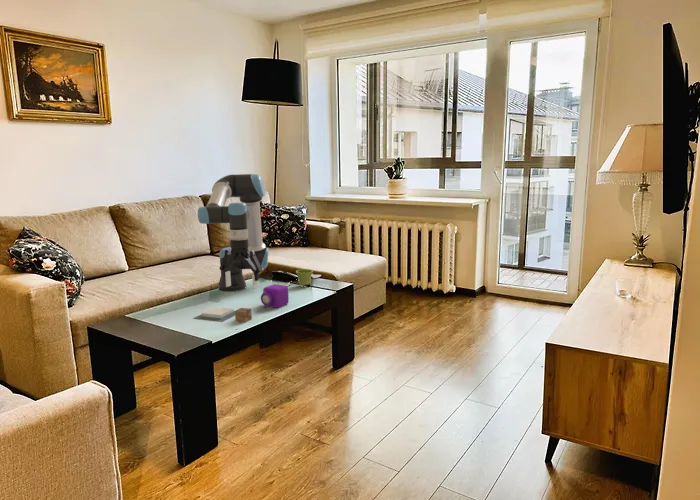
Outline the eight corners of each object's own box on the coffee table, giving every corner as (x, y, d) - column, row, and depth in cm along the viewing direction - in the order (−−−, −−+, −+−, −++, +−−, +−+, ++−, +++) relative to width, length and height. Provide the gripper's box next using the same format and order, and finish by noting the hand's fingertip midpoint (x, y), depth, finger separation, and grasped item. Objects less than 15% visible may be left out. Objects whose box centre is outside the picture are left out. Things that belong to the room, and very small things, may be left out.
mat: (213, 309, 234) (213, 308, 234) (242, 312, 229) (242, 311, 229) (192, 319, 220) (192, 318, 220) (222, 322, 214) (222, 322, 214)
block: (242, 318, 220) (241, 307, 220) (251, 319, 219) (251, 308, 218) (235, 321, 216) (235, 310, 215) (245, 322, 214) (244, 311, 213)
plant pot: (312, 288, 272) (311, 272, 270) (295, 288, 272) (294, 273, 270) (313, 284, 281) (313, 269, 280) (297, 284, 281) (296, 269, 280)
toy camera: (257, 309, 234) (256, 288, 232) (271, 301, 247) (270, 282, 245) (277, 311, 230) (276, 290, 229) (290, 303, 243) (290, 283, 241)
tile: (215, 306, 230) (233, 308, 227) (215, 311, 230) (233, 312, 227) (201, 313, 221) (220, 315, 217) (202, 317, 221) (220, 319, 218)
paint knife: (297, 288, 274) (297, 284, 274) (276, 286, 280) (276, 282, 280) (323, 277, 301) (323, 273, 300) (303, 275, 307) (303, 271, 306)
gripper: (209, 239, 212) (212, 287, 215) (259, 241, 203) (262, 291, 207) (219, 236, 219) (222, 283, 222) (269, 238, 210) (271, 287, 213)
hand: (241, 287), depth 214 cm, fingers open, 13 cm apart
